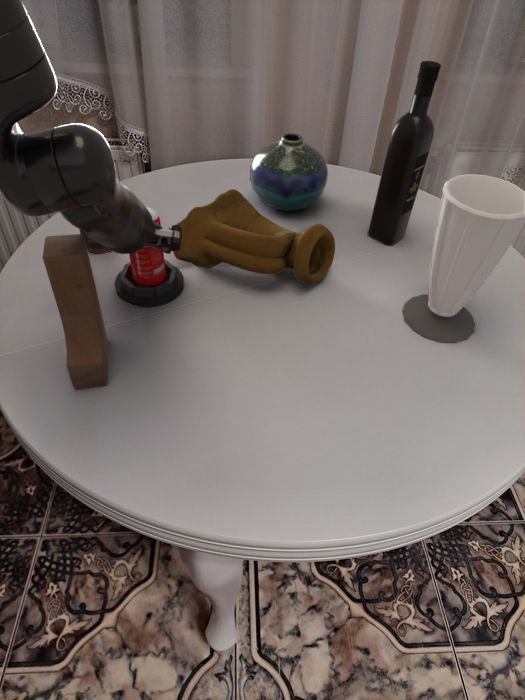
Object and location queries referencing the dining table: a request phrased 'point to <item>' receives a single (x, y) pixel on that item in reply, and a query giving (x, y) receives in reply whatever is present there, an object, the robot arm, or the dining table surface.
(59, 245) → the wooden block
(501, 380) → the dining table surface
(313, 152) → the vase
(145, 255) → the beverage can
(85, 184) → the robot arm
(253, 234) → the brown looped sculpture
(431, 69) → the wine bottle
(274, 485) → the dining table surface
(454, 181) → the cup
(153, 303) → the socket pad
